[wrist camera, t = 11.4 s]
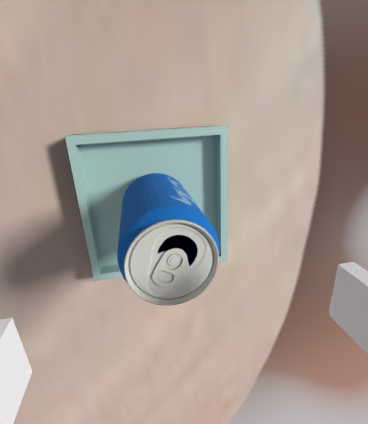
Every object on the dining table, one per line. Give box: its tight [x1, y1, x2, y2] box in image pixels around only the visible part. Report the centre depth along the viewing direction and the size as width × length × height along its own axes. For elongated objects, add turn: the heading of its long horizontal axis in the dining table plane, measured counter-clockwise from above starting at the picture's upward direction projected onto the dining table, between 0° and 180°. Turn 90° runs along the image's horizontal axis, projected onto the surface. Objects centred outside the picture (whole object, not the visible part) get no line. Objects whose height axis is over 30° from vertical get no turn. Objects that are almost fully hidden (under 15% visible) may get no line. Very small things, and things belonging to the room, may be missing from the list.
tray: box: [65, 125, 228, 281], centre depth 26 cm, size 14×14×2 cm
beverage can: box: [117, 173, 219, 305], centre depth 21 cm, size 6×6×12 cm
